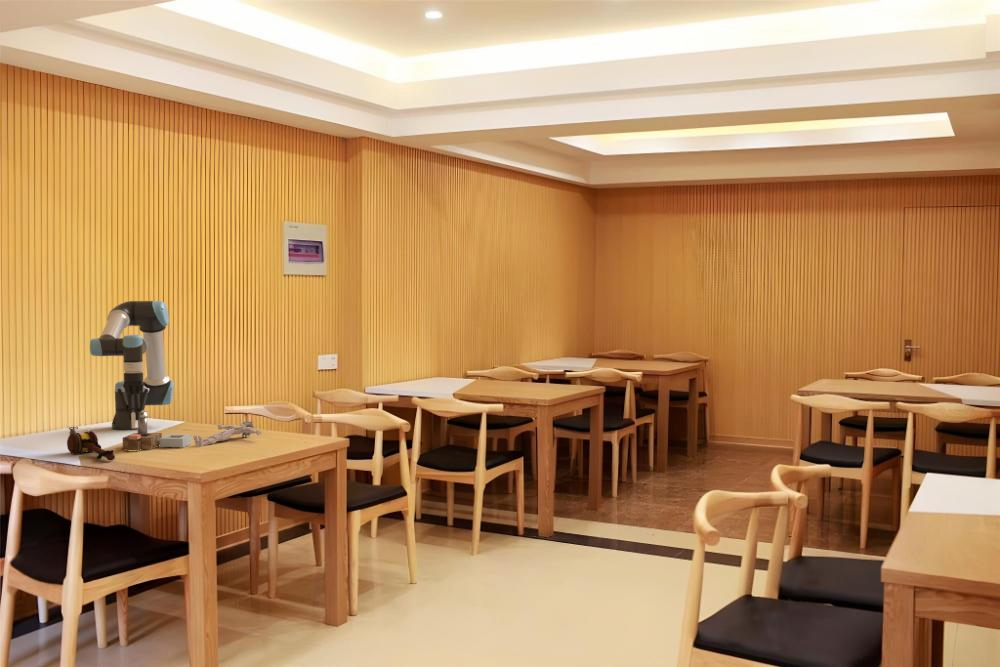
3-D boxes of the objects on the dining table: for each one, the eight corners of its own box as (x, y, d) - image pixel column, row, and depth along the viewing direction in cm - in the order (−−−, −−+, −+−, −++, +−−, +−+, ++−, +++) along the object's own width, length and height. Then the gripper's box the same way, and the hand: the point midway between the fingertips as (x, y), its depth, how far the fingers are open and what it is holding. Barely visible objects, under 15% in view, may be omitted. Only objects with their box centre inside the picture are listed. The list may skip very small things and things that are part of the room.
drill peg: (139, 445, 385) (139, 411, 384) (149, 446, 385) (149, 411, 384) (135, 447, 380) (134, 412, 379) (145, 447, 380) (145, 413, 379)
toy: (177, 432, 392) (231, 414, 416) (179, 451, 394) (233, 431, 418) (218, 439, 377) (272, 419, 401) (220, 458, 378) (274, 437, 402)
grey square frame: (168, 443, 390) (168, 434, 390) (191, 443, 390) (191, 434, 390) (159, 447, 380) (159, 438, 380) (183, 447, 380) (182, 438, 380)
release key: (132, 447, 376) (132, 434, 376) (140, 447, 376) (140, 434, 376) (129, 448, 373) (128, 435, 372) (137, 448, 373) (137, 435, 372)
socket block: (134, 444, 388) (134, 432, 388) (162, 444, 388) (161, 433, 388) (118, 451, 372) (118, 439, 372) (147, 451, 372) (147, 439, 372)
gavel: (124, 466, 355) (99, 470, 347) (87, 448, 378) (63, 451, 370) (125, 441, 354) (99, 445, 346) (88, 425, 377) (63, 427, 369)
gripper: (113, 372, 369) (115, 429, 371) (145, 373, 369) (146, 429, 371) (121, 370, 376) (123, 426, 378) (152, 371, 376) (153, 426, 378)
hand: (134, 427), depth 374 cm, fingers closed
